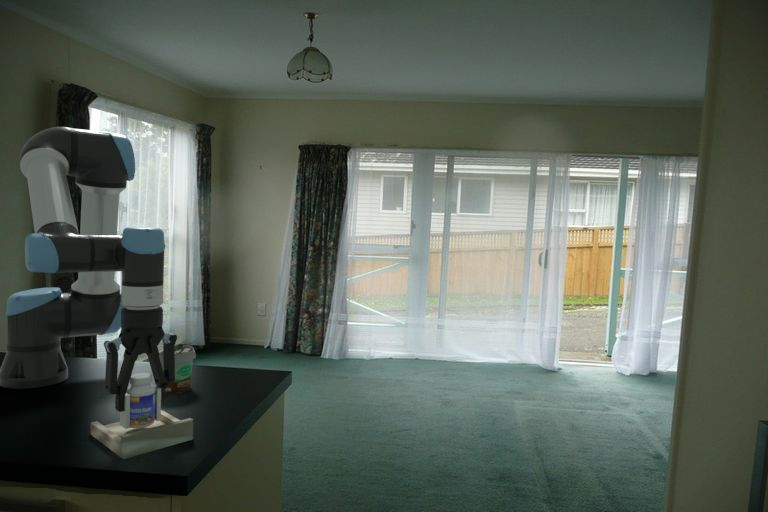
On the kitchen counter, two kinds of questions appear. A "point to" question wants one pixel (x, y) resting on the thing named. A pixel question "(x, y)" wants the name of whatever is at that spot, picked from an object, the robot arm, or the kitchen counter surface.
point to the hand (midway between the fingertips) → (140, 422)
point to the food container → (181, 370)
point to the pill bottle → (141, 400)
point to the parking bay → (143, 435)
